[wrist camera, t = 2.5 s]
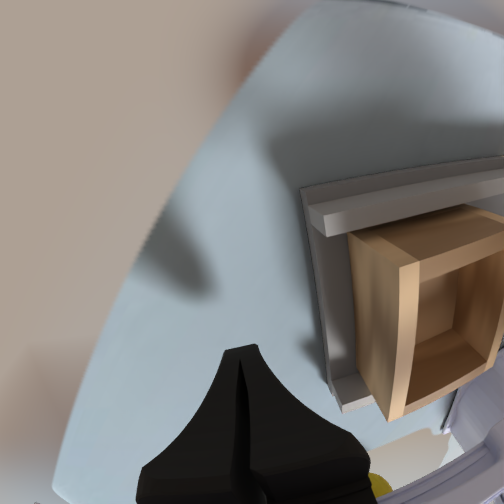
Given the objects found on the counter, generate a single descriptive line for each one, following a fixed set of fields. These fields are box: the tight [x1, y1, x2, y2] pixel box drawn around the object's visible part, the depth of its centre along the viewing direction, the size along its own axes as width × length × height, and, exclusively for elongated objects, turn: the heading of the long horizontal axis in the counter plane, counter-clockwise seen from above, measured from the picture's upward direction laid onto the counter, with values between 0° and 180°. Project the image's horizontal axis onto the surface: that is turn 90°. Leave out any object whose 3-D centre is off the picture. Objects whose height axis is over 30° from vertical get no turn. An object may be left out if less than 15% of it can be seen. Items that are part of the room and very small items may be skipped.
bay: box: [300, 156, 504, 414], centre depth 13 cm, size 12×17×3 cm
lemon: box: [368, 473, 393, 498], centre depth 18 cm, size 6×6×8 cm
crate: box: [347, 203, 504, 422], centre depth 12 cm, size 8×8×4 cm
